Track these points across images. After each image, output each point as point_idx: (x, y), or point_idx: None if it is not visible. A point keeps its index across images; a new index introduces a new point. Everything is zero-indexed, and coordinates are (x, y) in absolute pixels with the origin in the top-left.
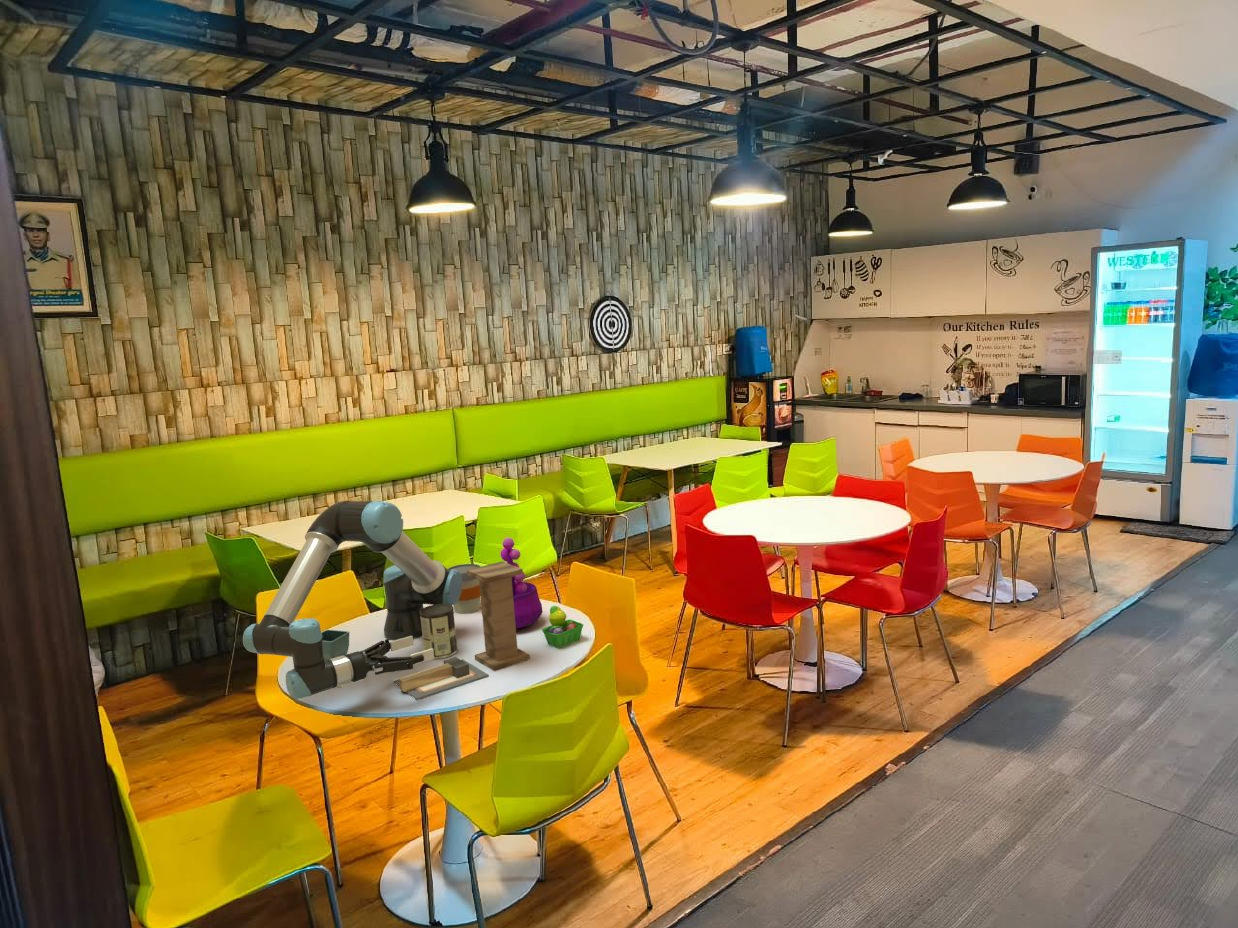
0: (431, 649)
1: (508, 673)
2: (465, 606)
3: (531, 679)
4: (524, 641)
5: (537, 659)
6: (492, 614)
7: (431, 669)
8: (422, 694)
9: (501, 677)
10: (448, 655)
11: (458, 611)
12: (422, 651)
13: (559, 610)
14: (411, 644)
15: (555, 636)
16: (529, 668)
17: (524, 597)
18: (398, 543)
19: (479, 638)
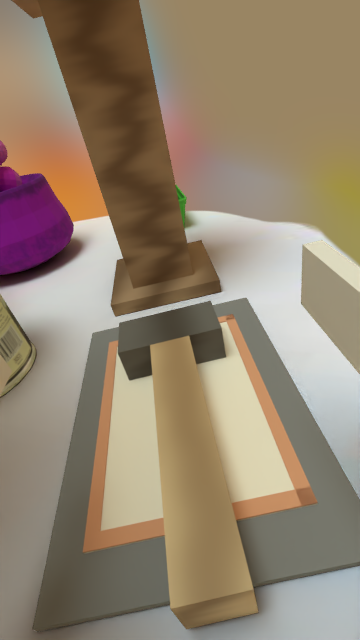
0: (326, 246)
1: (254, 274)
2: None
3: None
4: (111, 255)
5: (212, 243)
6: (159, 132)
7: (169, 397)
8: (331, 505)
9: (271, 284)
10: (32, 358)
11: None
12: (351, 279)
13: None
14: (2, 374)
15: (184, 203)
16: (249, 251)
17: (44, 183)
18: None
19: (14, 302)
